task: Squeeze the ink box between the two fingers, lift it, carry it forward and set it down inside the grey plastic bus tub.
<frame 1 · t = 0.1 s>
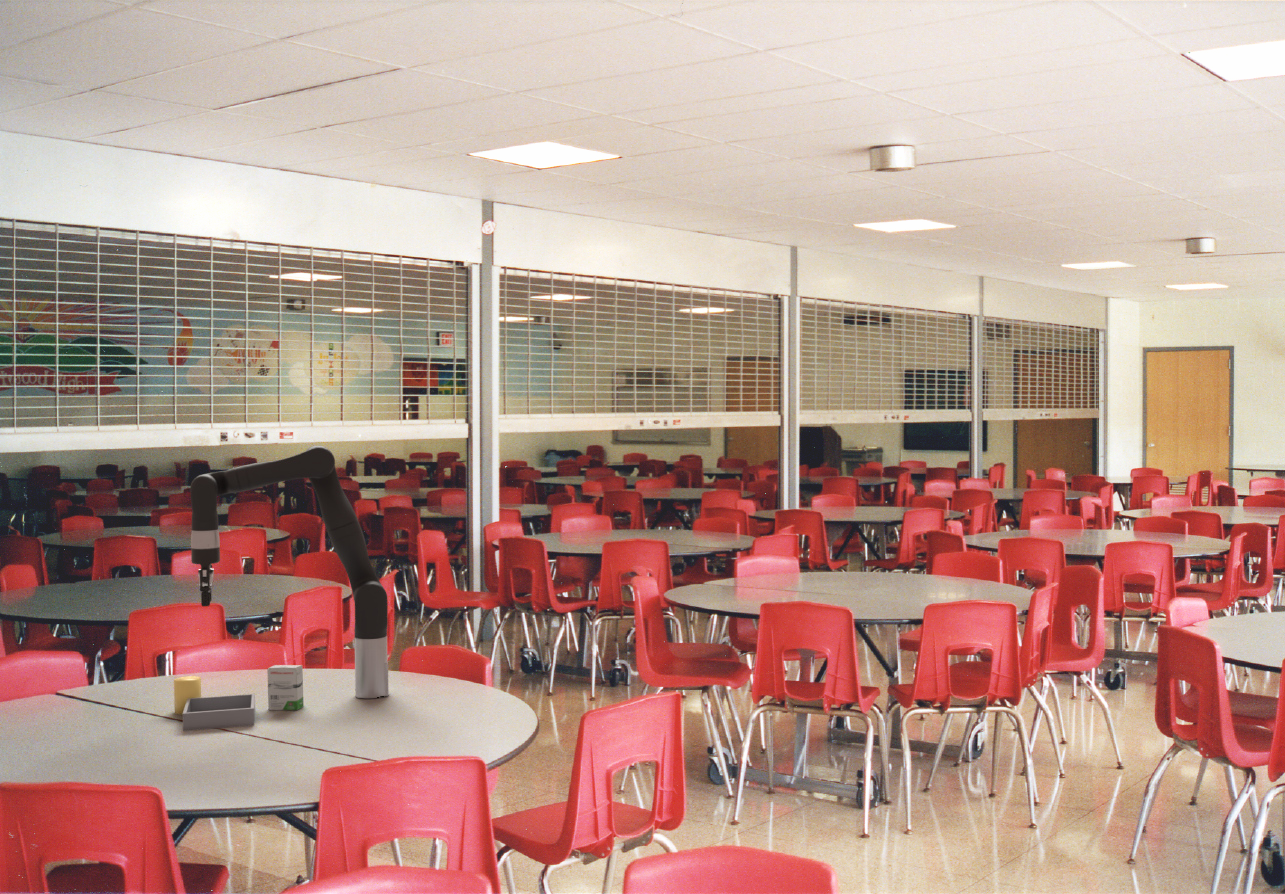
hand: (206, 603, 340), 29 cm above the table, fingers open, 8 cm apart
bus tub: (220, 719, 327), on the table
ink box: (286, 708, 339), on the table
yellow rounded cylinder: (188, 711, 337), on the table
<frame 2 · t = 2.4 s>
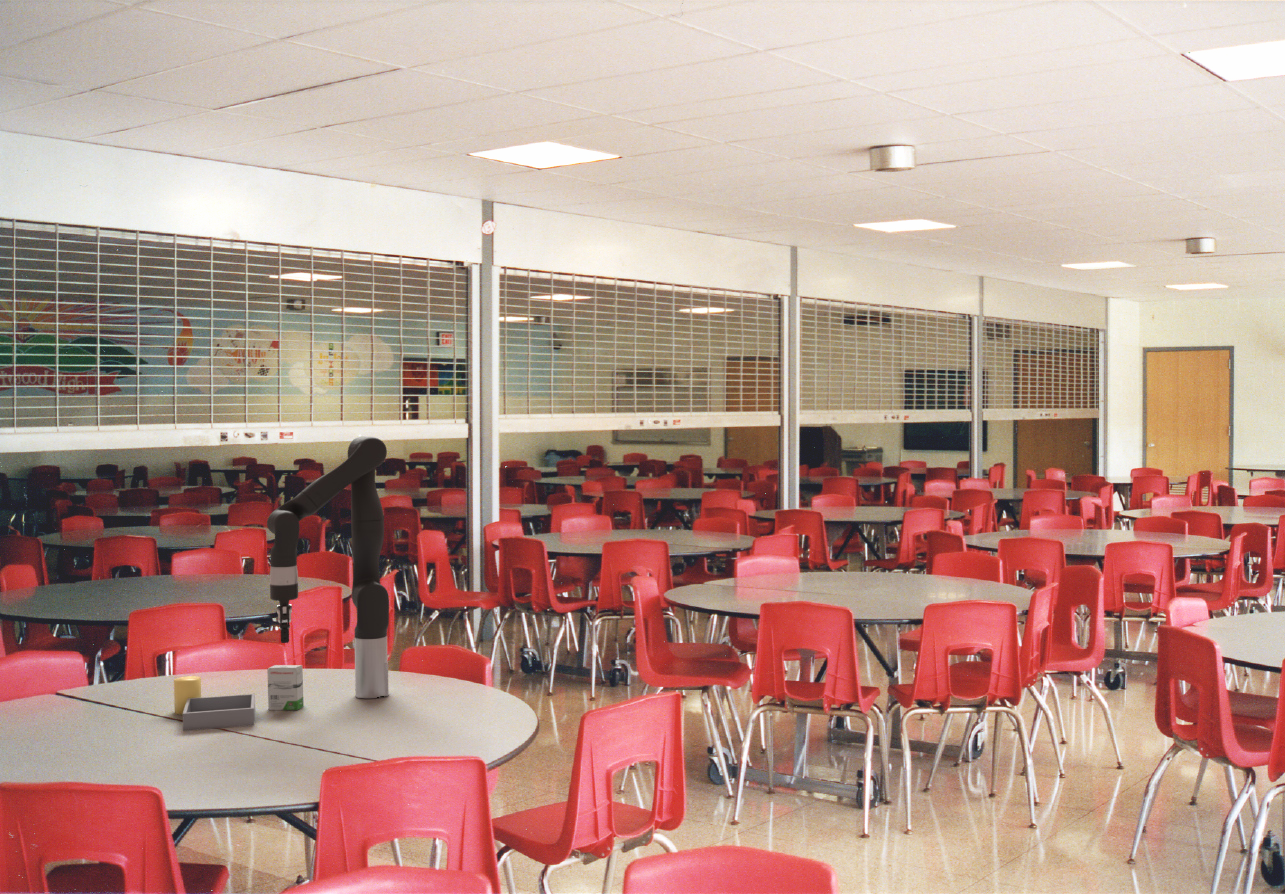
hand: (284, 640, 339), 19 cm above the table, fingers open, 8 cm apart
nothing on the table moved.
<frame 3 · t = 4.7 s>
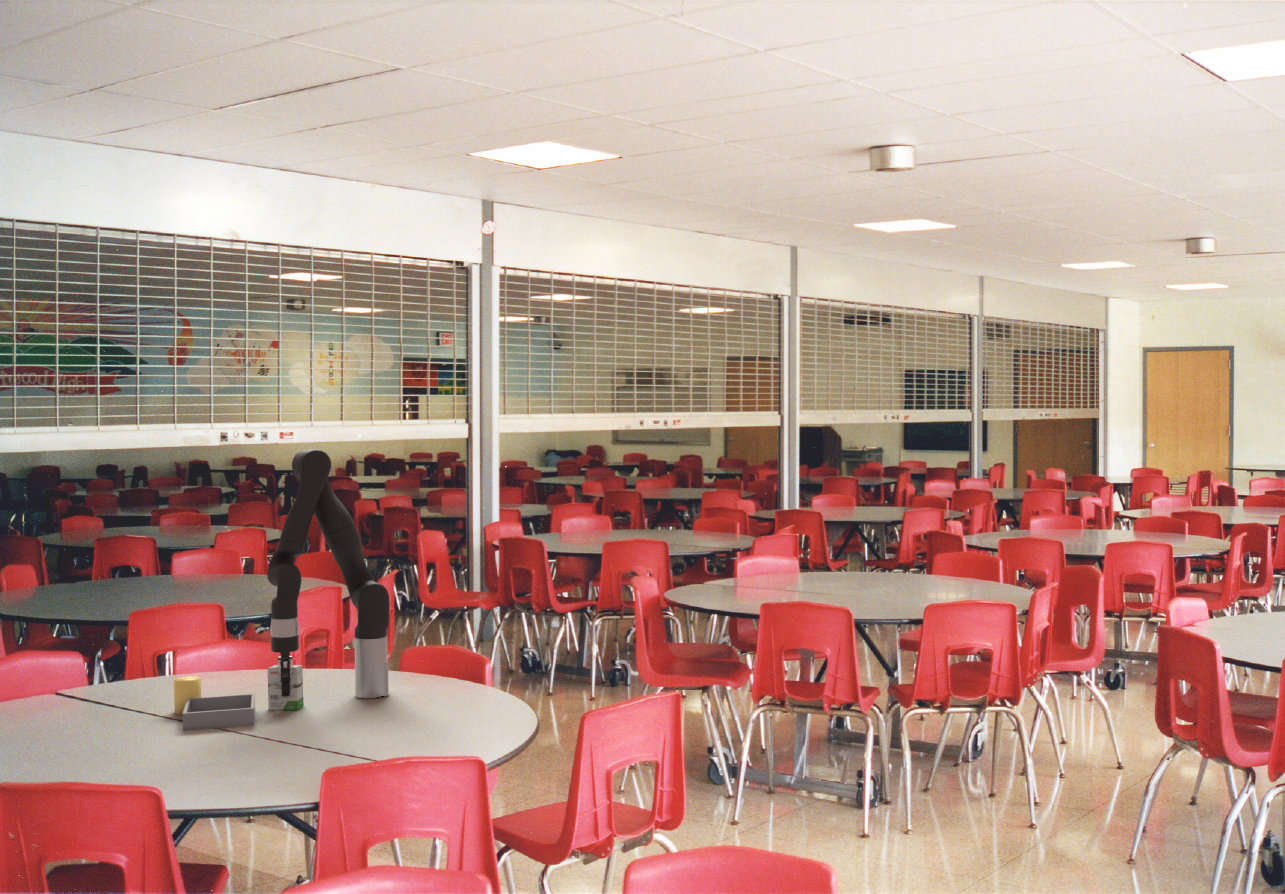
hand: (285, 693, 339), 4 cm above the table, fingers closed on ink box, 6 cm apart
ink box: (286, 708, 339), on the table, touching gripper
everything else where it was.
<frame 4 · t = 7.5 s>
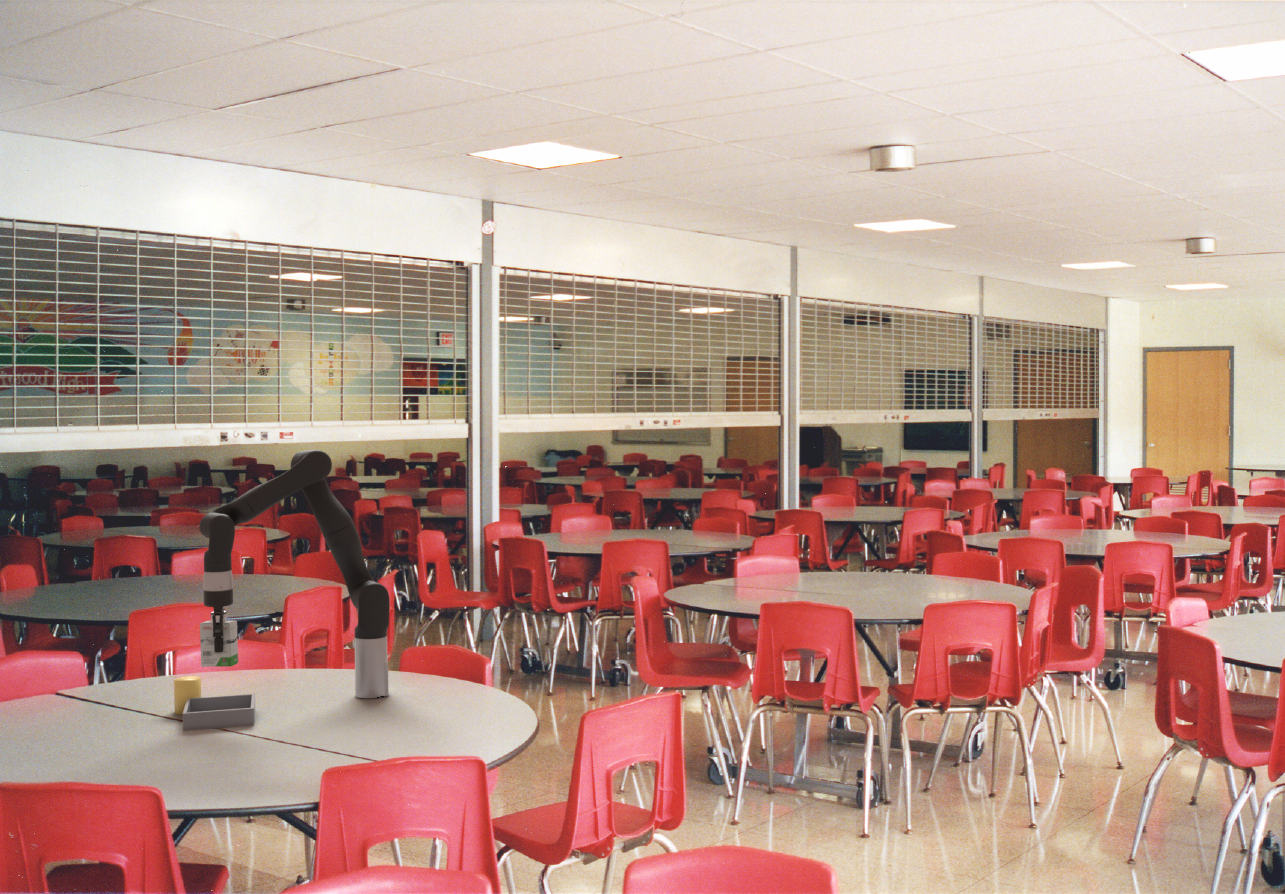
hand: (219, 649, 326), 19 cm above the table, fingers closed on ink box, 6 cm apart
ink box: (219, 665, 326), point 15 cm above the table, touching gripper
everything else where it was.
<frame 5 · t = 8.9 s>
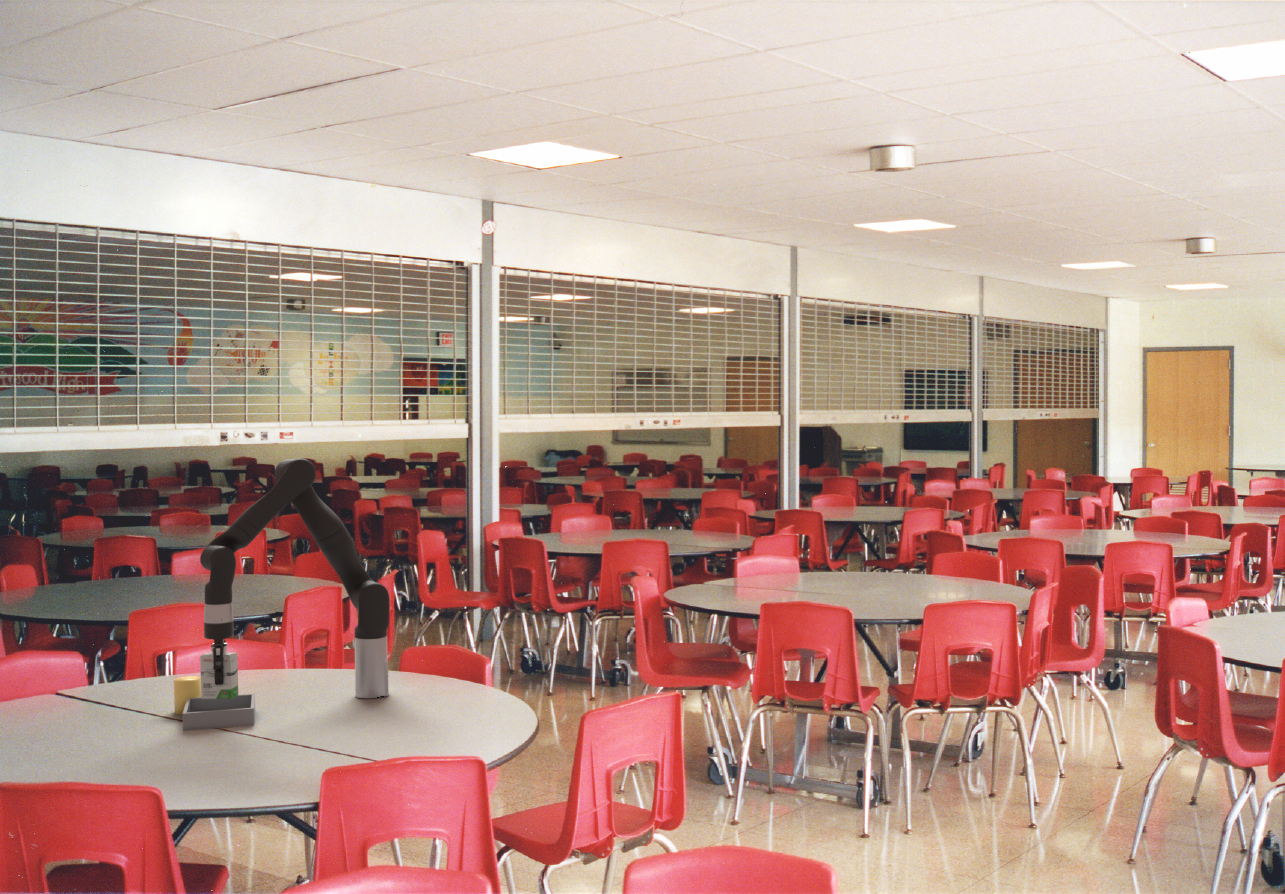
hand: (219, 681, 327), 10 cm above the table, fingers closed on ink box, 6 cm apart
ink box: (219, 697, 327), point 6 cm above the table, touching gripper
everything else where it was.
when the fingers open (6 cm above the table, at t = 10.5 s): ink box stays where it is, resting on bus tub.
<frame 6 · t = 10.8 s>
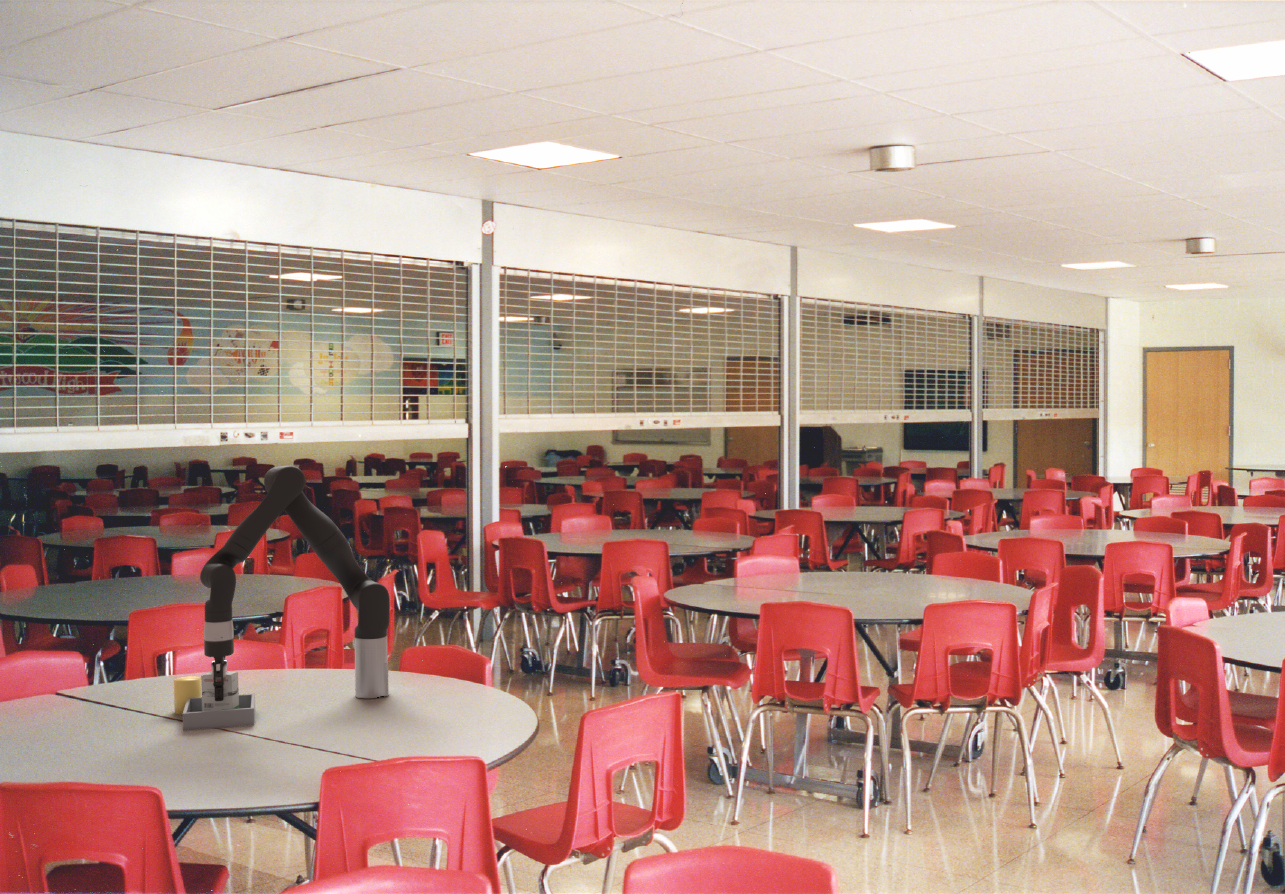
hand: (219, 697, 327), 6 cm above the table, fingers open, 8 cm apart
ink box: (220, 717, 327), point 1 cm above the table, touching bus tub
everything else where it was.
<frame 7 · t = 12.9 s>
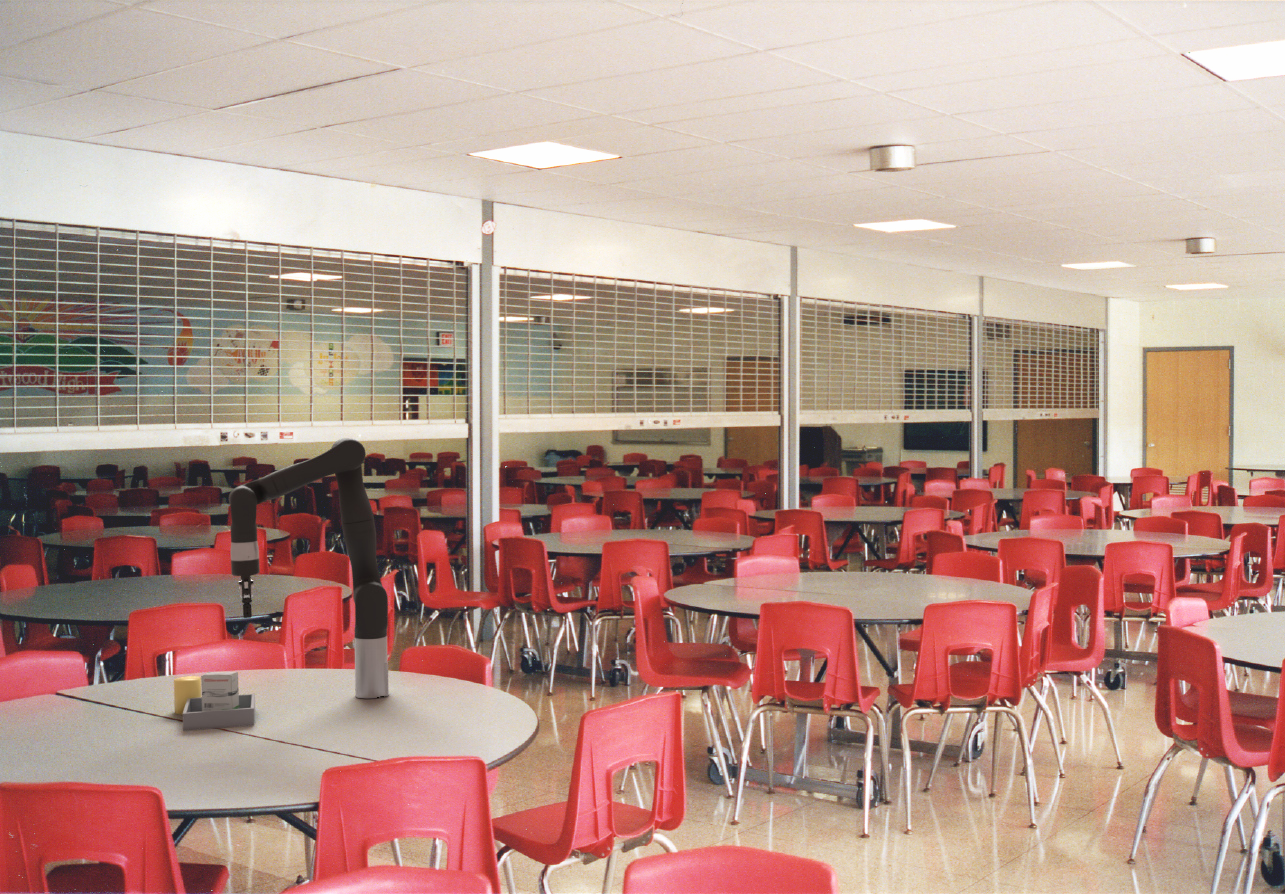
hand: (247, 615, 341), 26 cm above the table, fingers open, 8 cm apart
nothing on the table moved.
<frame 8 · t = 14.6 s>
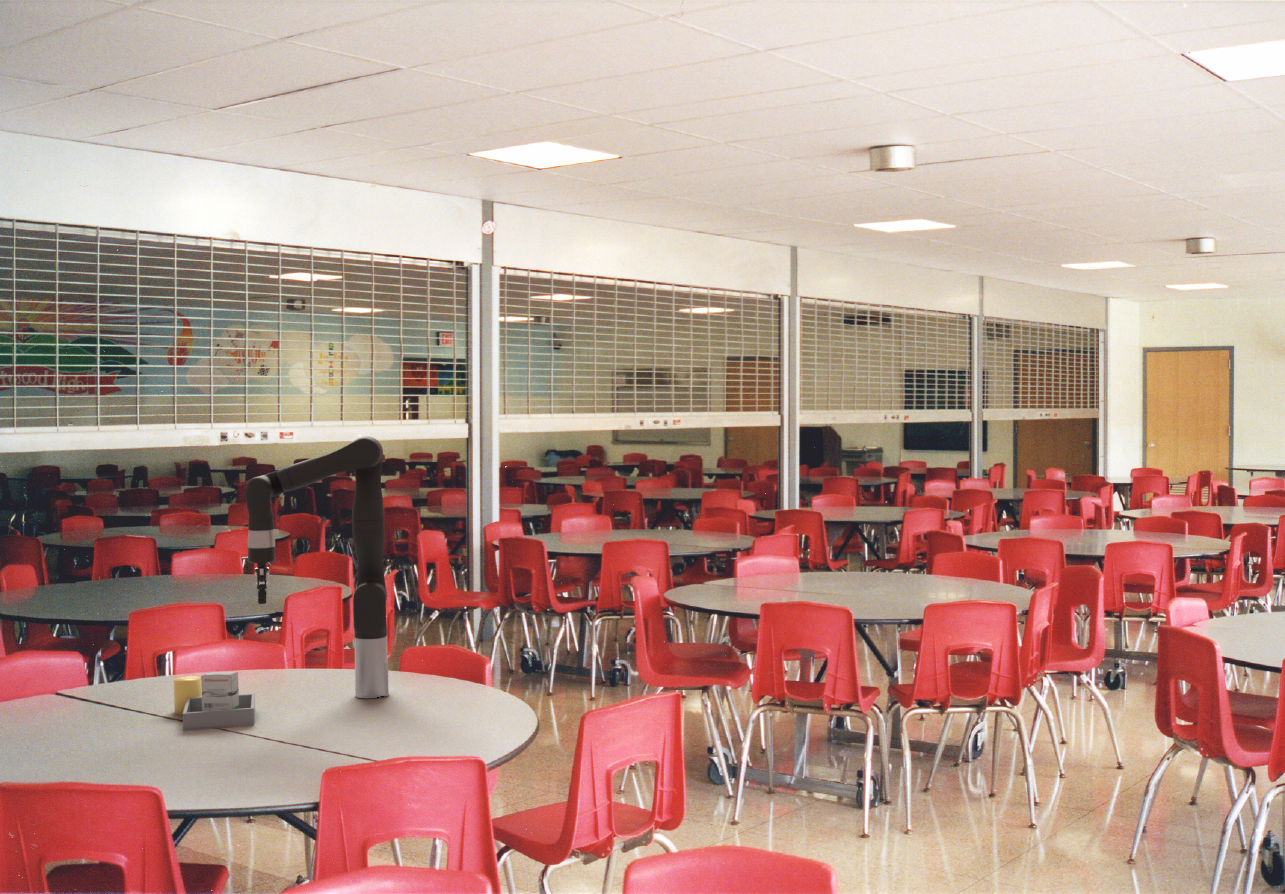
hand: (262, 601, 350), 28 cm above the table, fingers open, 8 cm apart
nothing on the table moved.
at the end: ink box inside the target area on the bus tub (0.1 cm from its centre), point 0.6 cm above the bus tub's base; ink box tilted 0°; the gripper is holding nothing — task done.
